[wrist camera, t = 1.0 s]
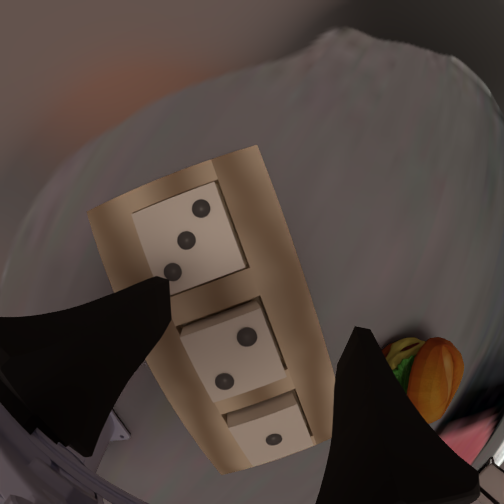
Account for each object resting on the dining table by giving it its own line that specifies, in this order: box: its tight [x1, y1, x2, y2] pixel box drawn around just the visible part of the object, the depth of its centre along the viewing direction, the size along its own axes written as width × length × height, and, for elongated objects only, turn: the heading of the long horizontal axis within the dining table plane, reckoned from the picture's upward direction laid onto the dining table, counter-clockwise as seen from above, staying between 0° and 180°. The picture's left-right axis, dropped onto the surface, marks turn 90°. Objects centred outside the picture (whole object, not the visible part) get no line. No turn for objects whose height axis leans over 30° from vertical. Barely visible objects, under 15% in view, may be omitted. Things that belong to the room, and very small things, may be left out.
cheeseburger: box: [382, 337, 464, 424], centre depth 22 cm, size 10×11×10 cm
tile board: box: [87, 145, 335, 475], centre depth 22 cm, size 14×28×3 cm, turn 20°
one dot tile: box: [227, 390, 313, 467], centre depth 21 cm, size 6×6×3 cm
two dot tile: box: [180, 300, 287, 403], centre depth 20 cm, size 6×6×3 cm
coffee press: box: [477, 457, 504, 504], centre depth 21 cm, size 17×16×30 cm
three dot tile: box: [131, 182, 245, 295], centre depth 19 cm, size 6×6×3 cm
